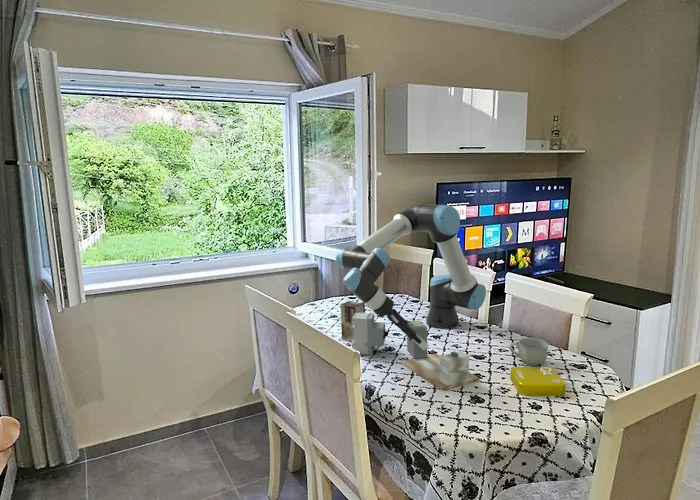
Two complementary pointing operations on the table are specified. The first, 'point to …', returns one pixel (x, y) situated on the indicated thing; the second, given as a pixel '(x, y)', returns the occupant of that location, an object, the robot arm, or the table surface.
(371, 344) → the circuit breaker
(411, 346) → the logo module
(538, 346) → the teacup
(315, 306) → the table surface
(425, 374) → the rail plate
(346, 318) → the coffee box
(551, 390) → the element tile
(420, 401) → the table surface
